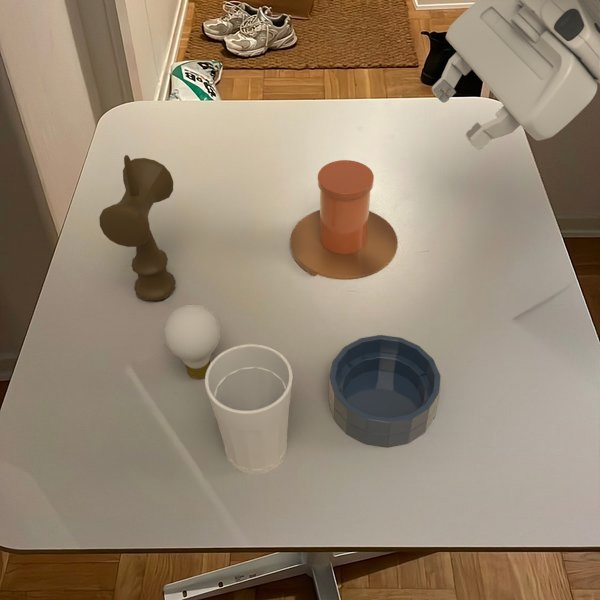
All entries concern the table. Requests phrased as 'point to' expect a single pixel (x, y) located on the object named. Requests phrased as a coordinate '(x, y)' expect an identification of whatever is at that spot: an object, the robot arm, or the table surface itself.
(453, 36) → the robot arm
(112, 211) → the kendama
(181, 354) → the light bulb
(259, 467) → the cup
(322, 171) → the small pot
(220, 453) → the table surface
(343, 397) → the bowl
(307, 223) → the disc
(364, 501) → the table surface
